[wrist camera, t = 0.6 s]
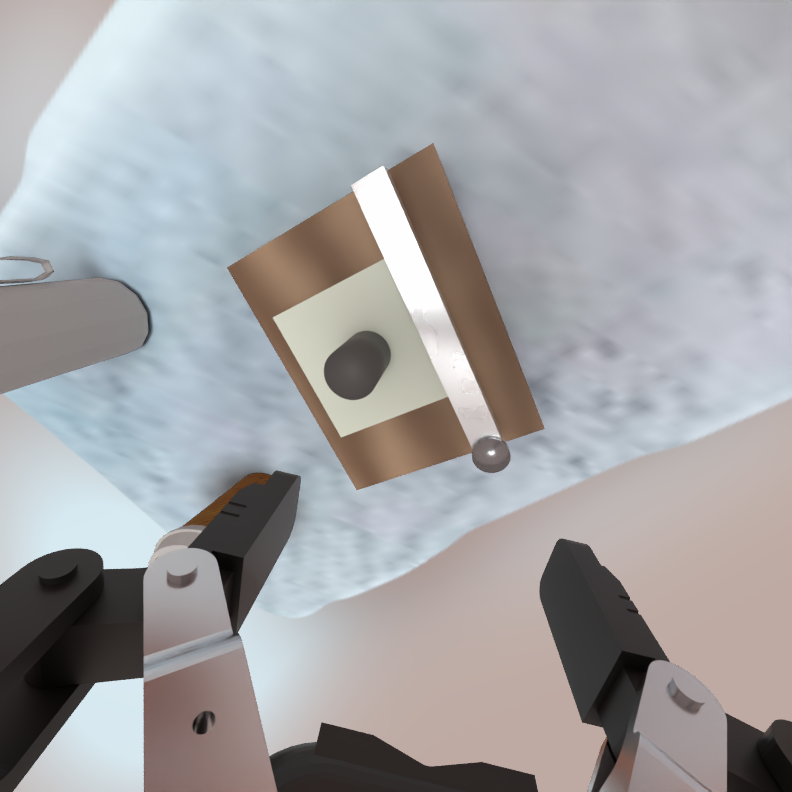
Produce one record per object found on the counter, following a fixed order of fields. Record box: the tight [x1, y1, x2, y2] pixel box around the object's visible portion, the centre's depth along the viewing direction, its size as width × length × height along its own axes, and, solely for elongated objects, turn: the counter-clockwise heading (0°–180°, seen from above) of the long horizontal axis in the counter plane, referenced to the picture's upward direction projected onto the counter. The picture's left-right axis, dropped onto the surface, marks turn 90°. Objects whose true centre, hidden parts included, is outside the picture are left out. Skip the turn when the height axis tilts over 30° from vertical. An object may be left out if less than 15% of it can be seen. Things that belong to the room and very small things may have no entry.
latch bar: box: [351, 166, 511, 473], centre depth 23 cm, size 2×19×2 cm, turn 26°
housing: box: [227, 143, 545, 490], centre depth 29 cm, size 16×20×8 cm
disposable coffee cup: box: [148, 473, 271, 567], centre depth 36 cm, size 10×10×12 cm
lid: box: [273, 259, 448, 437], centre depth 24 cm, size 10×10×6 cm
